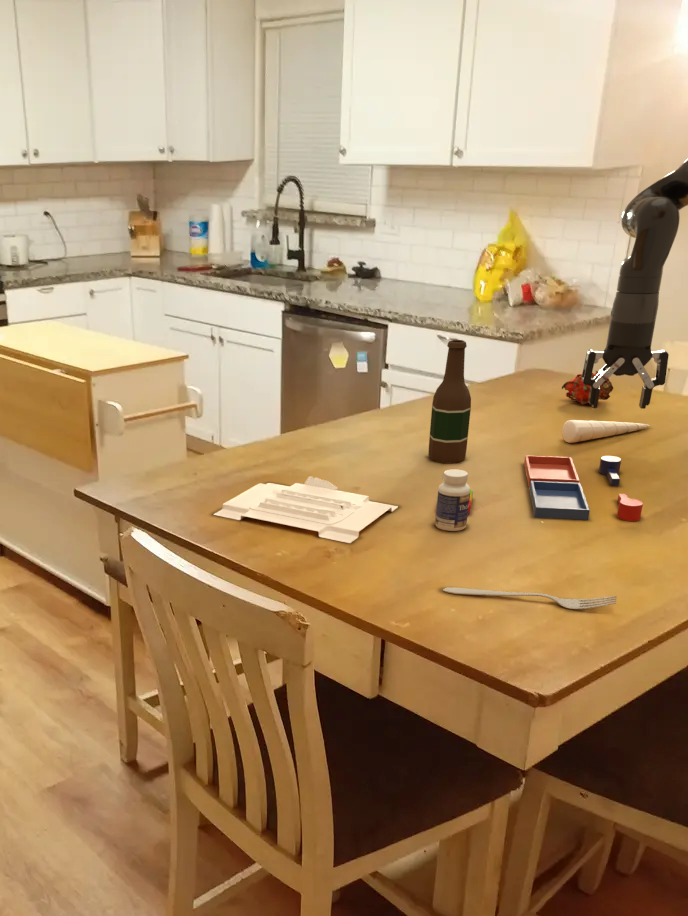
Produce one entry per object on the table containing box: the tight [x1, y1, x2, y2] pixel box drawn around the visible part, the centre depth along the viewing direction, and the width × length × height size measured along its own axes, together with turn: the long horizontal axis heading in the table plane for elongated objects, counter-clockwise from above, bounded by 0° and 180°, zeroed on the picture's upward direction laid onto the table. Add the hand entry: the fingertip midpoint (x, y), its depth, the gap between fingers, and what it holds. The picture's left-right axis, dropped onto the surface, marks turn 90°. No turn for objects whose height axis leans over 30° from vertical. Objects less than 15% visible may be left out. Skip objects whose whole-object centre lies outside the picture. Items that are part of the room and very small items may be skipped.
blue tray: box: [528, 481, 591, 521], centre depth 173 cm, size 9×14×2 cm, turn 167°
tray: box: [212, 475, 399, 544], centre depth 174 cm, size 20×28×4 cm
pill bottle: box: [434, 468, 471, 532], centre depth 164 cm, size 5×5×10 cm
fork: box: [442, 586, 618, 610], centre depth 139 cm, size 3×24×2 cm, turn 70°
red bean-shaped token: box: [616, 493, 644, 522], centre depth 169 cm, size 10×4×3 cm, turn 167°
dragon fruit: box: [561, 370, 614, 406], centre depth 233 cm, size 8×8×12 cm
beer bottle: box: [428, 339, 472, 464], centre depth 194 cm, size 8×8×24 cm
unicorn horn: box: [561, 419, 651, 444], centre depth 209 cm, size 5×24×5 cm, turn 109°
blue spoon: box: [598, 455, 622, 487], centre depth 185 cm, size 10×4×3 cm, turn 167°
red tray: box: [523, 454, 580, 489], centre depth 187 cm, size 9×14×2 cm, turn 167°
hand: (618, 407), depth 178 cm, fingers open, 8 cm apart
